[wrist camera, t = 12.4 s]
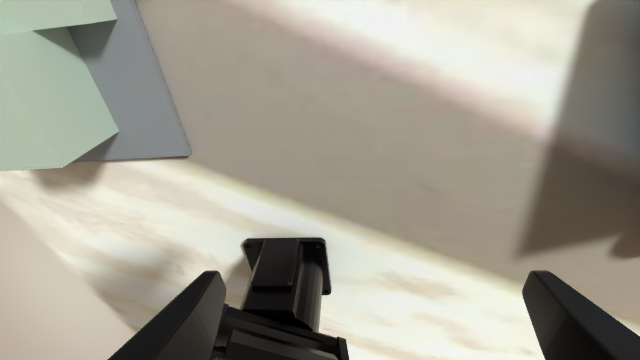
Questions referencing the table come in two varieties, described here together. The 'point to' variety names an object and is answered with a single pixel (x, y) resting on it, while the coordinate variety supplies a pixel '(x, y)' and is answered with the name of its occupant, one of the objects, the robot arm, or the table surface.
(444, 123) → the table surface
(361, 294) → the table surface
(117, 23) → the mat
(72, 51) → the c link
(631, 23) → the table surface
